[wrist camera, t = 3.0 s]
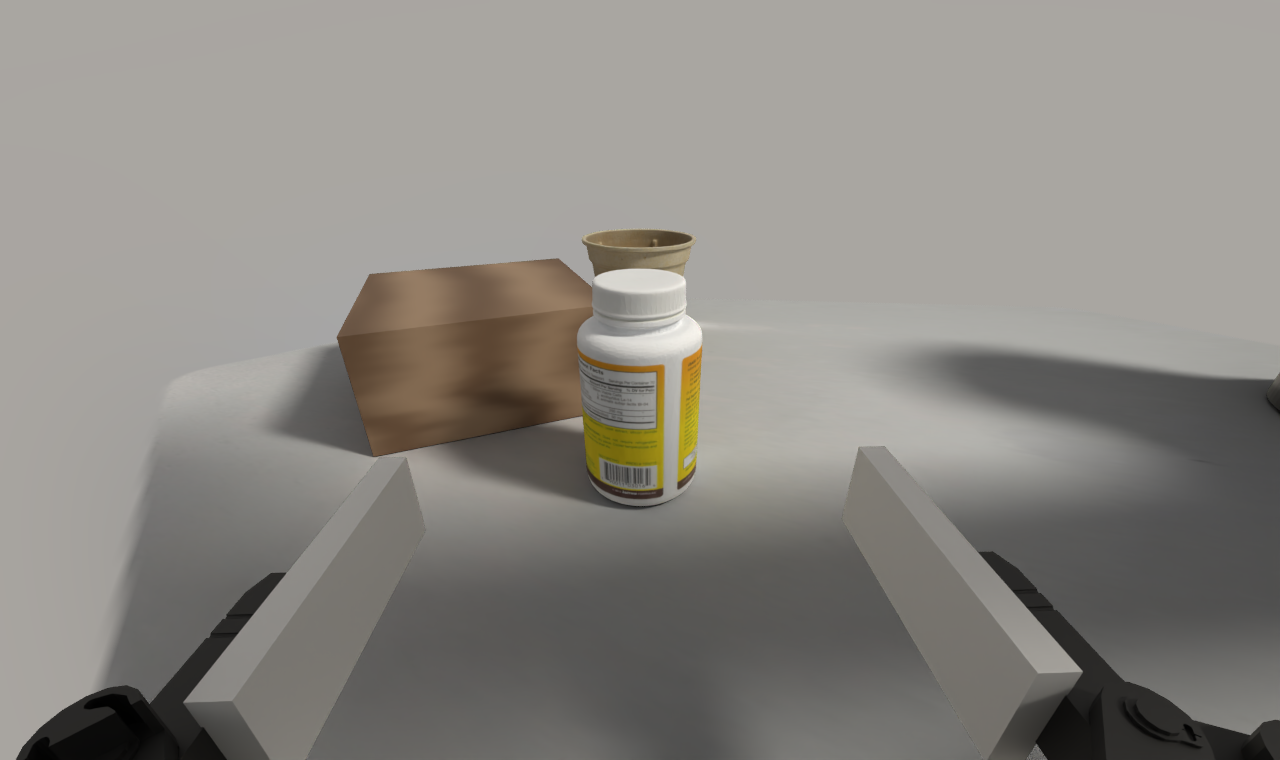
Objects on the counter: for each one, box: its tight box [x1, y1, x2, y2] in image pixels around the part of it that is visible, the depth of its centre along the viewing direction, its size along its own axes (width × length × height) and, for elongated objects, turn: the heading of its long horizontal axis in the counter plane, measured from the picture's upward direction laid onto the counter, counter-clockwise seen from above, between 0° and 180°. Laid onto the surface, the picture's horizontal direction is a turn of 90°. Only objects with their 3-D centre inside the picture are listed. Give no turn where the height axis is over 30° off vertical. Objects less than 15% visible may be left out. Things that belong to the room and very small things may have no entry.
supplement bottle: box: [577, 269, 702, 506], centre depth 22 cm, size 6×6×10 cm
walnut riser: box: [337, 259, 594, 457], centre depth 32 cm, size 14×14×7 cm
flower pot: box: [582, 229, 696, 277], centre depth 41 cm, size 9×9×9 cm
